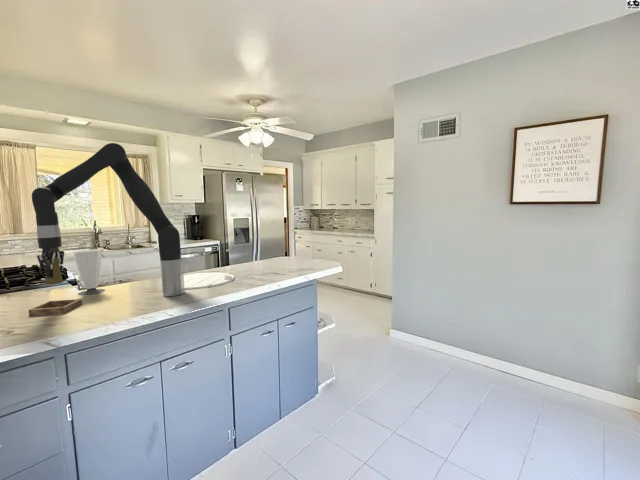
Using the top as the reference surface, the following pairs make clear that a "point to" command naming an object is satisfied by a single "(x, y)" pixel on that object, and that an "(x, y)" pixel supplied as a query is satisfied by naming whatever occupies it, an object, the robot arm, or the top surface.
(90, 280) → the cup
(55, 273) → the olive brown tapered block
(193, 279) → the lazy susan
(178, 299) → the top surface
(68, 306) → the box
